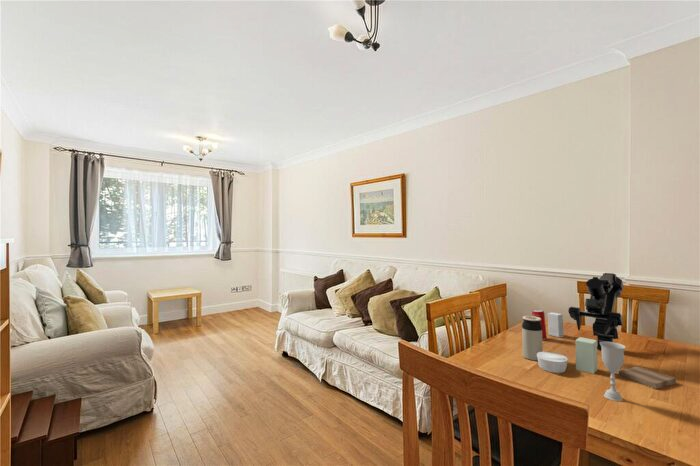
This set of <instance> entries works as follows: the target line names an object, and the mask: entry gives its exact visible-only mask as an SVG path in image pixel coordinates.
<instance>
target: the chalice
mask: <svg viewBox="0 0 700 466" xmlns="http://www.w3.org/2000/svg"><path fill="white" fill-rule="evenodd" d="M600 345H601V350H600V351H601V352H600V353H601V360H602V362H603V364H604V366H605V368H606V370H607V371H608V372H610V376H609V378H610V381H609V384H610V386H611V387H610V388H608V389H606V390H605V393H604V394H603V397H604V398H606V399H608V400H611V401H614V402H623V398H622V395H621V393H620V392H619V391H618V390H617V389H616V385H617V383H616V382H615V381H616V375H615V374H617V373H619V371H620V370H621V368H622V367H623V364H624V362H625V357H624V356H625V349H626V346H625V345H624V344H622V343H617V342H614V341H613V342H607V341H602V342H600Z"/></svg>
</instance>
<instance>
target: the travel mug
mask: <svg viewBox="0 0 700 466" xmlns="http://www.w3.org/2000/svg"><path fill="white" fill-rule="evenodd" d="M522 320H523V322H522V323H521V334H522V335H521V336H522V338H521V341H522V342H521V343H522V356H523V358H525V359H526V360H529V361H530V360H531V361H538V358H537V353H538V352H544V351H543V350H544V349H543V348H544V347H543V340H542V325H541V323H540V321H541V318H539V317H535V316H532V315H523V316H522Z"/></svg>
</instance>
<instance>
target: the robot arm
mask: <svg viewBox="0 0 700 466" xmlns="http://www.w3.org/2000/svg"><path fill="white" fill-rule="evenodd" d="M585 285H586V288H587V291H588V293H589V295H590V296H589V298H585V304H584V306H585V310H586V311H584V310H581V308H580V307H576V306H569V307H568V313H569V316H570V318H571V319H573V320H574V321H576V327H577V330H578V331H580V330H581V326H582V317H589V318H594V322H593V324H592V333H593V336H594V337H595V336H596V337H597V339H596V340H597V350H600V351H601V345H600V342H602V341H607V342H614V340H618V339H619V332H618V329H617V327H619V326H621V327H622V326H623V324H624V323H623V321H624V320H623V316H622V314H621V313H620V312H616V311H614V310H615V307H616V306H615V304H616V300H617V298H618V297H619V296H621V294H622V291H624V283H623V280H622V279H621V278H620V277H618V276H617V274H615V273H613V272H609V273H608V272H604V273H603V272H602V275H601V276H600V277H598V276H592V278H590V279H588V280H587V281H586V282H585Z"/></svg>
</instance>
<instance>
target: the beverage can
mask: <svg viewBox="0 0 700 466" xmlns="http://www.w3.org/2000/svg"><path fill="white" fill-rule="evenodd" d="M545 314H546V313H545V312H544V310H543V309H532V313H531V316H535V317H539V318H541V321H540V323H541V325H542V341H544V340H547V338H548V337H547V328H546V326H547V325H546V318H545V317H546V316H545Z"/></svg>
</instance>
